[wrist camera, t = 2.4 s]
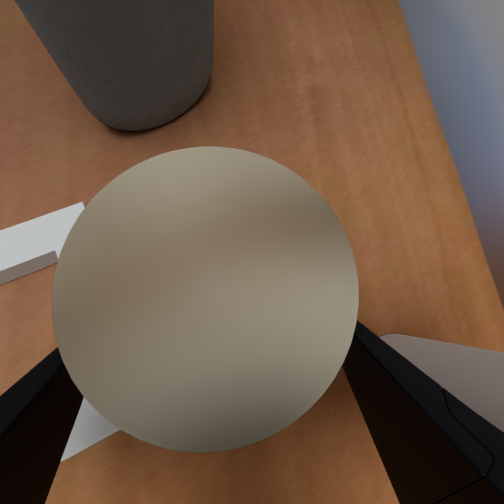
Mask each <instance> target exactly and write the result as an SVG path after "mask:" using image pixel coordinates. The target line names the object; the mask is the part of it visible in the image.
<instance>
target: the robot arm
mask: <svg viewBox="0 0 504 504" xmlns="http://www.w3.org/2000/svg"><path fill="white" fill-rule="evenodd" d="M342 365H343V368H344V371H345V374H346V377H347V379H348V381H349V384H350V386H351V389H352V391H353V393H354V396H355V398H356V400H357V403H358V405H359V408H360V410H361V412H362V415H363V417H364V420H365V422H366V424H367V427H368V429H369V431H370V434H371V436H372V439H373V441H374V443H375V446H376V448H377V451H378V453H379V455H380V458H381V460H382V462H383V465H384V467H385V470H386V472H387V474H388V477H389V479H390V481H391V484H392V486H393V489H394V491H395V493H396V496H397V498H398V501H399V503H400V504H504V432H503V431H501V430H500V429H498V428H497V427H496V426H494V425H493V424H491V423H490V422H489V421H487V420H486V419H484V418H483V417H482V416H480V415H479V414H477V413H476V412H475V411H473V410H472V409H471V408H469V407H468V406H467V405H465V404H464V403H463V402H461V401H460V400H459V399H457V398H456V397H455V396H454V395H452V394H451V393H450V392H448V391H447V390H446V389H445V388H443V387H442V388H441V385H439V384H438V383H437V382H436V381H434V380H433V379H432V378H430V377H429V376H428V375H427V374H425V373H424V372H423V371H421V370H420V369H419V368H418V367H416V366H415V365H414V364H413V363H411V362H410V361H409V360H407V359H406V358H405V357H404V356H402V355H401V354H400V353H398V352H397V351H396V350H395V349H393V348H392V347H391V346H390V345H388V344H387V343H386V342H384V341H383V340H382V339H381V338H379V337H378V336H377V335H375V334H374V333H373V332H372V331H370V330H369V329H368V328H366V327H365V326H364V325H363V324H361V323H360V322H359V321H358V320H357V321H356V326H355V330H354V334H353V338H352V342H351V345H350V347H349V350H348V353H347V355H346V358H345V360H344V362H343V364H342ZM83 398H84V396H83V395H82V393H81V392H80V391H79V389H78V388H77V386H76V385H75V383H74V382H73V381H72V379H71V377H70V375H69V373H68V371H67V369H66V366H65V364H64V362H63V360H62V357H61V354H60V351H59V348H58V347H57V348H56V349H55V350H54V351H53V352H51V353H50V354H49V355H48V356H47V357H45V358H44V359H43V360H42V361H41V362H40V363H38V364H37V365H36V366H35V367H34V368H33V369H31V370H30V371H29V372H28V373H27V374H26V375H24V376H23V377H22V378H21V379H20V380H19V381H17V382H16V383H15V384H14V385H13V386H11V387H10V388H9V389H8V390H7V391H6V392H4V393H3V394H2V395H1V396H0V504H45V502H46V499H47V496H48V494H49V491H50V488H51V486H52V483H53V480H54V477H55V475H56V472H57V469H58V467H59V464H60V461H61V459H62V456H63V453H64V450H65V448H66V445H67V442H68V440H69V437H70V434H71V432H72V429H73V426H74V424H75V421H76V418H77V415H78V413H79V410H80V407H81V404H82V401H83Z"/></svg>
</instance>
